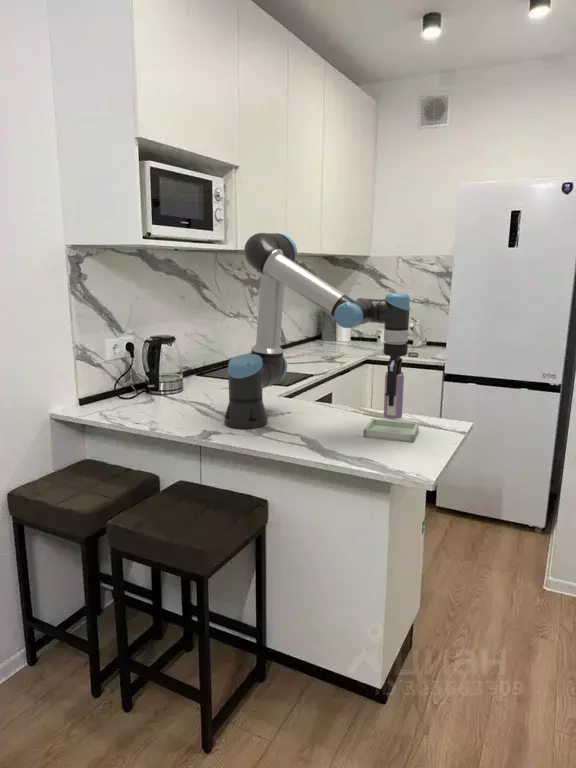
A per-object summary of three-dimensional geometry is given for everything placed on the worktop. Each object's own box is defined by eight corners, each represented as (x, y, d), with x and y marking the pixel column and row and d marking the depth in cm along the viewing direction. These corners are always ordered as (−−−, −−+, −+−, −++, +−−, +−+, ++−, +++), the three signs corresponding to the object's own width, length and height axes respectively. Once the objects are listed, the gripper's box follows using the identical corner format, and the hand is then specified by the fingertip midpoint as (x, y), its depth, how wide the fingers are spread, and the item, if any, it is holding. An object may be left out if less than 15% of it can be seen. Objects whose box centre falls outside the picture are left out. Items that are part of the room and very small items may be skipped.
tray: (363, 436, 180) (363, 429, 179) (371, 425, 192) (371, 418, 191) (413, 442, 174) (413, 435, 174) (418, 430, 186) (418, 423, 186)
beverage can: (405, 417, 182) (407, 372, 178) (395, 421, 178) (397, 375, 174) (390, 413, 186) (392, 370, 182) (379, 417, 182) (381, 373, 178)
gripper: (403, 347, 166) (399, 421, 171) (411, 338, 183) (408, 405, 189) (378, 346, 168) (375, 419, 174) (389, 337, 186) (386, 403, 191)
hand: (392, 412), depth 181 cm, fingers closed on beverage can, 6 cm apart
